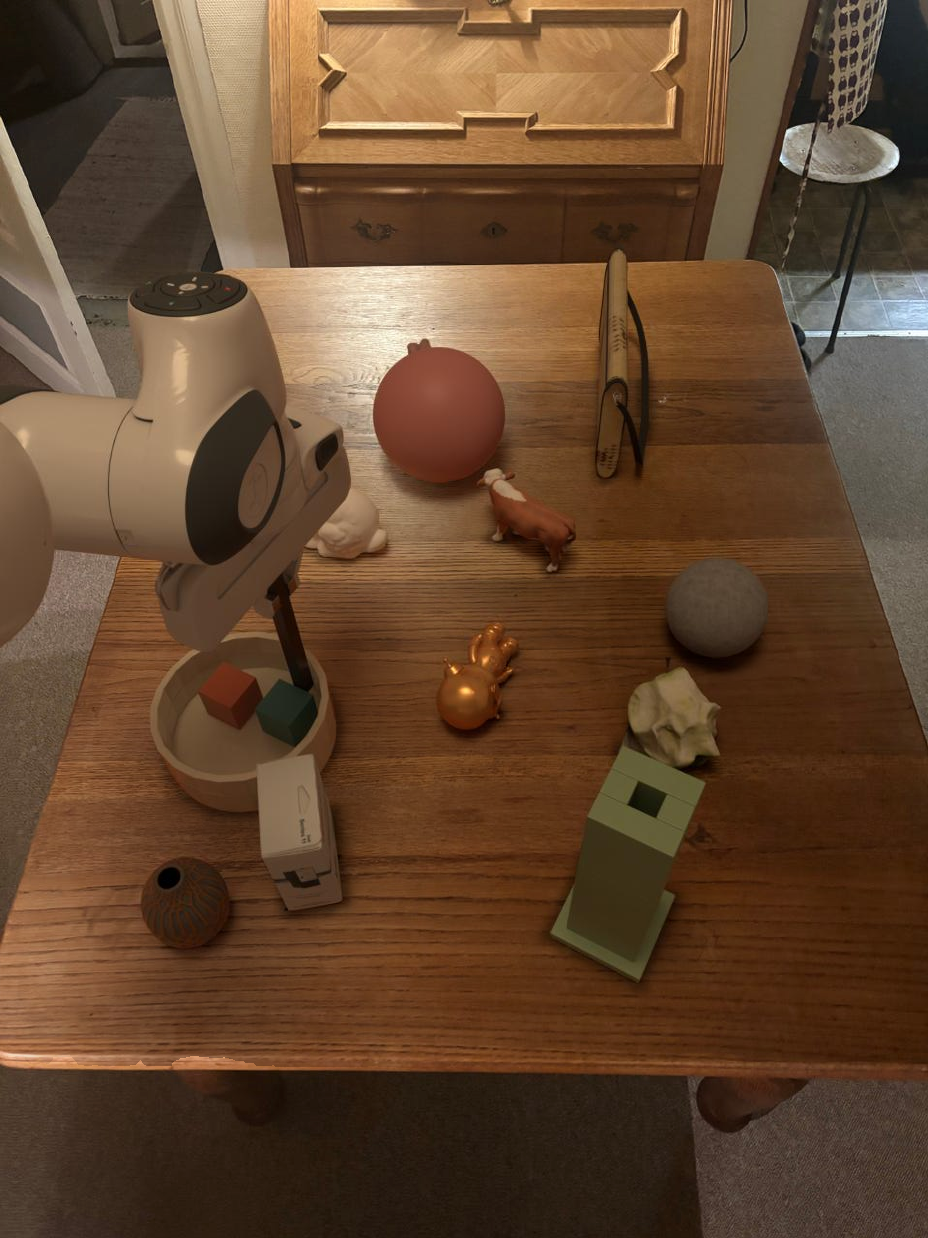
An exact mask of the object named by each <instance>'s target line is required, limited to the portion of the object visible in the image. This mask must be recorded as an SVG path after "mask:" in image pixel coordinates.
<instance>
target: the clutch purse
mask: <svg viewBox="0 0 928 1238" xmlns="http://www.w3.org/2000/svg"><path fill="white" fill-rule="evenodd" d="M628 265H629V264H628V258H627V253H626V251H625V250H624V248H621V246H620V247H616V248H615V247H614V249H613V250H612V251H611V253H610V254H609V255H608V258H607V263H606V265H605V269H604V270H605V271H604V277H603V286H602V297H601V305H600V316H599V322H598V323H599V324H598V342H599V352H598V353H599V355H598V356H599V359H598V363H599V364H598V391H597V392H598V394H597V428H596V429H597V431H596V432H597V433H596V434H597V435H596V445H595V453H594V465H595V469H596V473H597V475H598V476H599V477H601V478H604V479H607V478H610V477H611V476H612V475H614V473H615V472H616V471H617V467H618V466H619V461H620V458H621V451H622V443H623V436H624V432H625V426H626V428H627V431H628V434H629V438H630V443H631V447H632V452H633V458H634V462H635V463H636V464H639V465H641V466H643V465H644V456H645V450H646V442H647V436H648V430H649V421H650V399H649V398H650V391H649V389H650V388H649V387H650V386H649V384H650V383H649V378H650V377H649V375H650V372H649V371H650V370H649V354H648V347H647V342H646V340H647V339H646V335H645V330H644V325H643V323H642V320H641V318H640V314H639V311H638V309H637V307H636V304H635V301H634V299H633V298H632V296H631V293H630V291H629V289H628V268H629V267H628ZM628 309H629V311H628ZM628 312H630V314H631V317H632V319H633V322H634V325H635V328H636V329H635V330H636V333H637V338H638V342H639V343H638V344H639V349H640V356H641V357H640V358H641V419H640V427H639V434H637V430H636V427H635V424H634V420H633V418H632V415H631V414H630V411H629V410H628V403H629V379H628V378H629V350H628V349H629V338H628V337H629V335H628V334H629V332H628V331H629V327H628V325H629V324H628V323H629V321H628V320H629V319H628V317H629V316H628V314H629V313H628Z"/></svg>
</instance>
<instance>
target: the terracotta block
mask: <svg viewBox="0 0 928 1238" xmlns="http://www.w3.org/2000/svg"><path fill="white" fill-rule="evenodd" d="M198 693H199V696H200V698H201V700H202V702H203V704H204V706H205V709H206V711H207V713H208V714H210V715H212V716H213V717H215V718H217V719H219V720H221V721H223V722H225V723H227V724H229V725H231V726H233V727H235V728H237V729H239V730H240V729H241V728H242V726H243V725H244V724H245V723H246V721H247V720H248V719H249V718H250V716H251V715H252V714H253V713H254V712H255V708H256V707H257V706H258V704H259V703H260V702H261V701H262V699H263V696H262V693H261V690H260V687H259V684H258V682H257V679H256V677H254V676H252V675H250V674H248V673H246V672H244V671H242V670H240V669H238V668H236V667H233V666H231V665H229V664H227V663H225V662H223V663H222V664H221V665H220V666H219V667H218V669H217V670H216V671H215V672H214V673H213V674H212V676H211V677H210V678H209V679H208V680H207V681H206V682H205V684H204V685H203V686H202V687H201V688H200V689H199V691H198Z"/></svg>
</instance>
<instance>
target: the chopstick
mask: <svg viewBox="0 0 928 1238" xmlns="http://www.w3.org/2000/svg"><path fill="white" fill-rule="evenodd" d="M267 591H268V592H269V593H273V594H275V595H278V596H279V599H280V604H281V607H280V609H279V610H278V611H277V612H276V613H275V615H274V616H273V617H272V621H273V625H274V627H275V631H276V634H277V635H278V637H279V640H280V644H281V647H282V650H283V653H284V656H285V660H286V663H287V666H288V669H289V672H290V676H291V679H292V682H293V685H294V686H296V687H298V688H300V689H302V690H304V691H307V692H309V691H310V689H311V688H312V687H313V685H314V682H313V679H312V675H311V672H310V668H309V664H308V661H307V657H306V654H305V650H304V648H305V646H304V643H303V641H302V637H301V633H300V628H299V626H298V621H297V619H296V614H295V612H294V611H295V610H294V608H293V604H292V601H291V596H289V594H288V590H287V587H286V583H285V579H284V576H283V572H282V573H281V574H280V575H279V576H278V577H277V579H276V580H275V581H274V582H273V583H272V584H271V585H270V587H269V588H268V589H267Z"/></svg>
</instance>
